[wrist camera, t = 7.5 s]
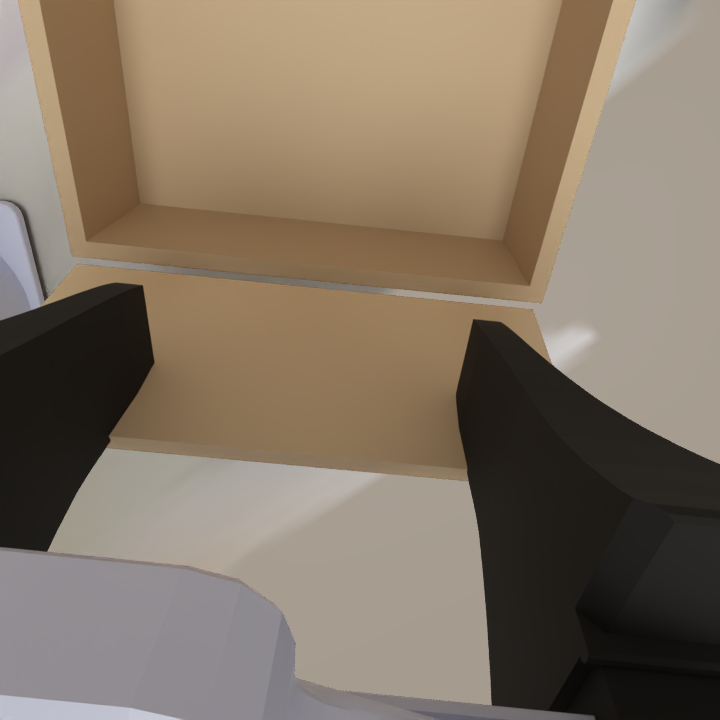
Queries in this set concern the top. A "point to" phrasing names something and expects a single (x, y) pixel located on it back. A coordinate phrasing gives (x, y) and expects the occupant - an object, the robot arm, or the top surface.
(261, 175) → the carton
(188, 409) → the flap
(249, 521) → the top surface
